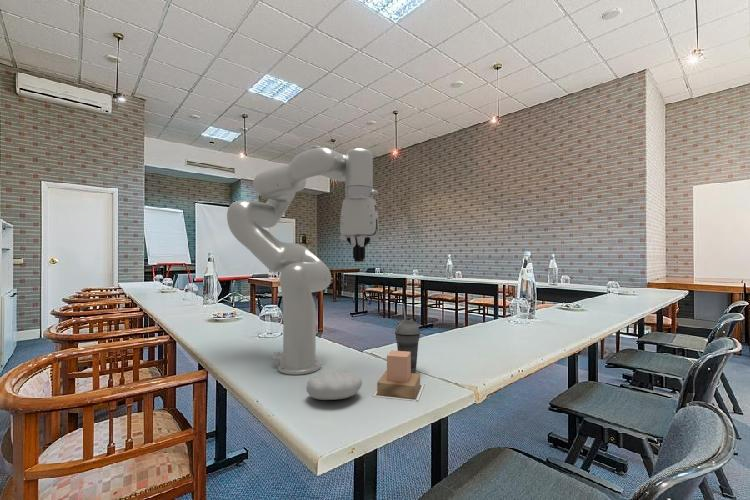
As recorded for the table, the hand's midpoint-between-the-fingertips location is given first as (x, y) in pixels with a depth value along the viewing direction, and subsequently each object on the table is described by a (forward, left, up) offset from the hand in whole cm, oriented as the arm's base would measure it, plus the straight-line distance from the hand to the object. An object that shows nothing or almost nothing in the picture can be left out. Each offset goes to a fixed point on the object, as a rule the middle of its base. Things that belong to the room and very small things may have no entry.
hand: (359, 261), depth 98 cm
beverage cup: (+12, +8, -32) cm, 35 cm away
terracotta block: (+12, -6, -29) cm, 32 cm away
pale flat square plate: (+13, -6, -32) cm, 35 cm away
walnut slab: (+13, -6, -32) cm, 35 cm away
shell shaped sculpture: (-1, -15, -32) cm, 36 cm away
